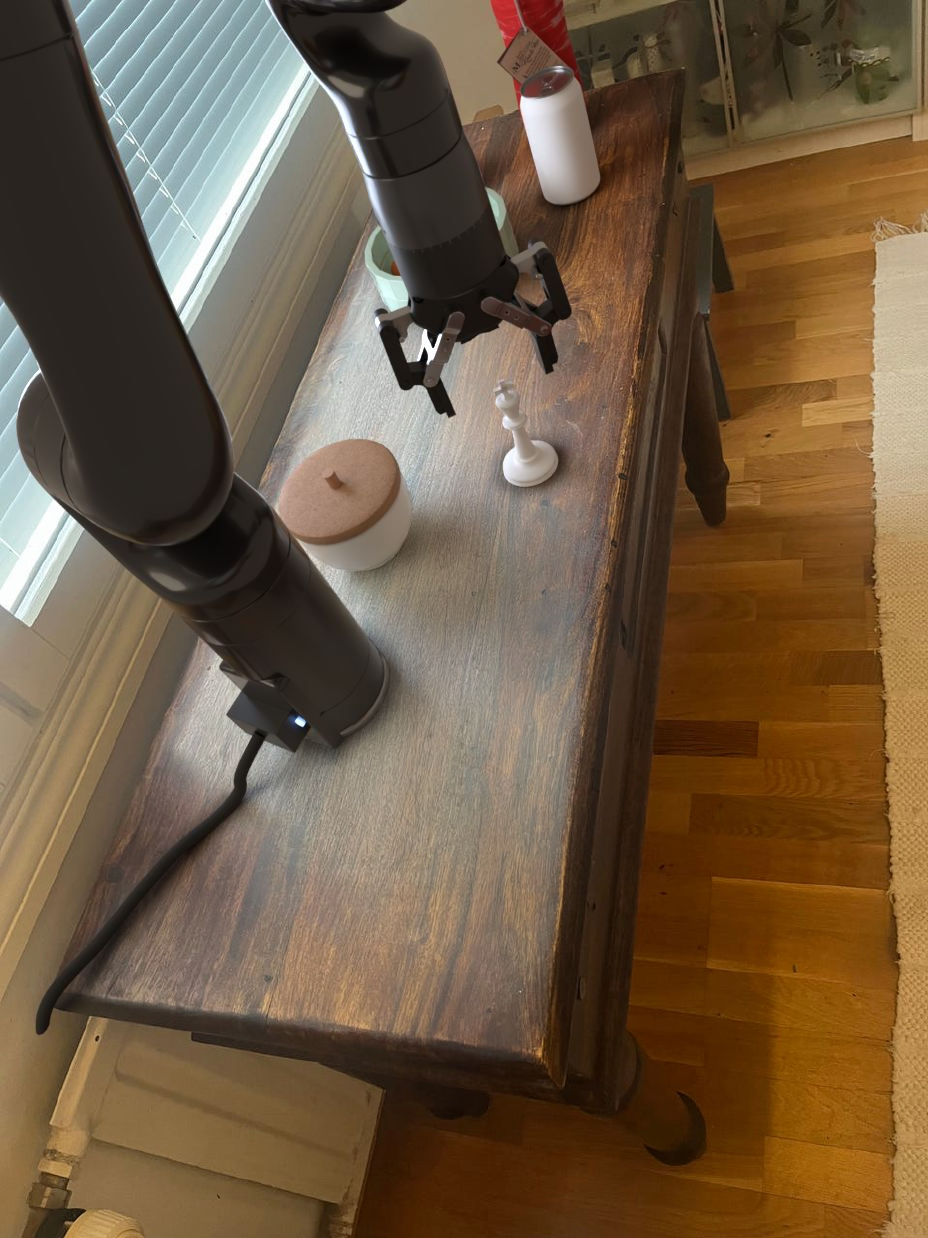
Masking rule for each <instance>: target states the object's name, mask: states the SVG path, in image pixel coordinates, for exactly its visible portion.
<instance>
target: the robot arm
mask: <svg viewBox="0 0 928 1238" xmlns="http://www.w3.org/2000/svg"><path fill="white" fill-rule="evenodd" d="M407 1H408V0H264V2H265V4H266V6H267V8H268V10H269V12H270V13H271V15H272V16H273V18H274V20H275V21H276V23H277V24H278V26H279V27H280V29H281V30H282V32H283V34H284V35H285V36H286V38H287V39H288V41H289V43H290V44H291V45H292V47H293V48H294V49H295V51H296V53H297V54H298V56H299V58H300V59H301V60H302V61H303V63H304V64H305V67H306V68H307V69H308V71H309V72H310V74H311V75H312V76H313V78H314V79H315V80H316V82H317V83H318V84H319V85H320V87H321V88H322V89H323V91H324V92H325V93H326V95H327V96H328V97H329V98H330V100H331V102H332V103H333V106H334V107H335V109H336V111H337V113H338V116H339V119H340V121H341V125H342V127H343V129H344V132H345V134H346V137H347V140H348V143H349V144H350V146H351V149H352V151H353V154H354V156H355V159H356V161H357V163H358V167H359V169H360V171H361V174H362V176H363V180H364V183H365V187H366V191H367V196H368V199H369V203H370V205H371V208H372V210H373V212H374V216H375V220H376V223H377V225H379V226H380V227H381V229H382V232H383V234H384V236H385V239H386V241H387V244H388V246H389V249H390V251H391V253H392V256H393V258H394V261H395V263H396V265H397V268H398V270H399V273H400V275H401V277H402V280H403V282H404V285H405V287H406V289H407V292H408V303H407V306H405V307H402V308H400V309H397V310H395V311H392V312H391V311H390V312H389V311H388V310H387V309H386V308H383V307H379V308H377V309H375V310H374V311H373V314H372V319H373V322H374V324H375V327H376V329H377V332H378V335H379V337H380V340H381V343H382V345H383V348H384V351H385V353H386V355H387V358H388V361H389V363H390V366H391V368H392V371H393V375H394V376H395V378H396V382H397V384H398V387H399V388H400V390H402V391H404V392H406V391H410V390H412V389H413V388H414V387H415V386H422V387H423V388H425V390H426V392H427V395H428V396H429V398H430V401H431V404H432V406H433V408H434V410H435V412H436V413H438V415H444V414H446V416H447V418H448V419H451V418H453V417H455V416H457V413H456V411H455V408H454V406H453V403H452V401H451V399H450V396H449V393H448V392H447V389H446V387H445V384H444V382H443V380H442V377H441V376H442V375H441V374H442V372H443V369H444V366H445V364H448V363H449V361H450V358H451V356H452V353H453V350H454V346H455V344H456V343H460V345H464V344H467V343H469V342H471V341H472V340H474V339H475V338H476V337H478V336H479V335H482V334H487V333H491V332H493V331H495V330H497V329H500V324H501V323H502V322H503V321H504V322H506V323H509V324H511V325H512V326H514V327H516V328H518V329H520V330H523V329H525V330H528V332H529V336H530V339H531V342H532V345H533V349H534V352H535V355H536V359H537V361H538V363H539V366H540V367H541V369H542V371H543V372H544V374H545V375H549V374H551V373H554V372H555V369H554V365H556V364H558V363H559V362H558V361H559V354H558V353H559V352H558V351H557V347H556V343H555V339H554V337H553V334H552V332H553V328H554V326H555V325H556V324H557V323H558V322H559V321H565V320H568V319H569V318H570V317H571V316H572V313H573V310H572V307H571V306H572V305H571V304H570V300H569V298H568V295H567V291H566V288H565V285H564V282H563V280H562V277H561V274H560V271H559V267H558V265H557V261H556V259H555V256H554V254H553V253H552V251H551V249H550V248H549V246H548V245H547V244H546V243H545V241H544V240H543V238H541V237H539V236H535V237H533V238H531V239H530V240H529V242H528V245H527V249H525V250H523V251H522V252H519V253H518V255H516V256H514V257H512V258H511V257H510V256H508V255H507V254H506V252H505V249H504V246H503V243H502V239H501V236H500V233H499V229H498V226H497V223H496V220H495V216H494V213H493V210H492V207H491V203H490V200H489V197H488V193H487V190H486V188H487V186H486V184H485V180H484V177H483V174H482V171H481V168H480V164H479V162H478V159H477V156H476V153H475V151H474V149H473V146H472V144H471V142H470V140H469V138H468V136H467V134H466V131H465V129H464V125H463V123H462V119H461V116H460V114H459V113H460V112H459V110H458V107H457V103H456V100H455V97H454V93H453V90H452V88H451V84H450V81H449V78H448V74H447V71H446V68H445V66H444V63H443V60H442V58H441V55H440V52H439V51H438V50H437V47H436V46H435V45H434V43H433V42H432V41H431V40H430V39H429V37H426V36H425V35H423V34H422V33H419V32H418V31H415V30H413V29H410V28H407V27H406V26H404V25H402V24H401V23H399V22H397V21H395V19H393V18H391V16H389V14H388V13H387V12H388V11H392V10H394V9H396V8H398V7H400V6H401V5H403V4H404V3H406V2H407ZM74 15H75V14H74V12H73V10H72V7H71V3H70V1H69V0H0V299H1V300H2V301H3V303H4V305H5V307H7V309H8V311H9V312H10V313H11V315H12V317H13V319H14V320H15V322H16V324H17V326H18V328H19V329H20V331H21V333H22V334H23V337H24V338H25V340H26V343H27V344H28V347H29V348H30V350H31V352H32V355H33V356H34V359H35V361H36V363H37V366H38V368H39V370H38V371H37V372H36V373H35V374H34V375H33V376H32V377H31V378H30V380H29V381H28V383H27V385H26V386H25V387H24V389H23V392H22V394H21V397H20V399H19V402H18V407H17V412H16V422H15V428H16V438H17V444H18V447H19V451H20V454H21V457H22V460H23V462H24V463H25V466H26V467H27V469H28V471H29V472H30V473H31V475H32V477H33V478H34V479H35V481H36V482H37V483H38V484H39V485H40V487H41V488H42V489H43V490H44V491H45V492H46V493H47V494H48V495H50V497H51V498H52V499H53V500H54V501H55V502H56V503H57V504H58V505H59V506H60V507H61V508H62V509H63V510H64V511H65V512H67V514H69V516H70V517H72V519H74V520H75V521H76V523H78V524H79V525H80V526H81V527H82V528H83V529H84V530H85V531H86V532H87V533H88V534H89V535H90V536H91V537H93V539H94V540H96V541H97V543H99V544H100V546H102V547H103V548H104V549H105V550H106V551H107V552H108V553H109V554H110V555H112V557H113V558H114V559H115V560H116V561H117V562H118V563H119V564H120V565H121V566H123V567H124V568H125V569H126V570H127V571H128V572H130V574H131V575H133V576H134V577H135V578H136V579H137V580H139V581H140V582H141V583H142V584H143V585H144V586H145V587H147V588H148V589H149V590H150V591H152V593H154V594H155V595H156V596H157V597H158V598H159V599H160V600H161V601H163V602H164V603H165V604H166V605H167V606H168V607H169V608H170V609H171V610H172V611H173V612H174V613H175V614H176V615H177V616H178V617H179V618H180V619H181V620H182V621H183V622H184V623H185V624H186V625H187V626H188V627H189V628H190V629H191V630H192V631H193V632H194V633H195V634H196V635H197V636H198V637H199V638H200V639H201V640H202V641H203V642H204V643H205V644H206V646H207V647H209V648H210V649H211V650H212V651H213V652H214V653H215V654H216V655H217V656H218V657H219V658H220V659H221V662H220V664H219V666H218V668H219V671H220V672H221V673H223V675H225V677H226V678H228V680H230V681H231V683H232V684H233V685H234V686H235V687H237V688H238V689H239V690H240V692H239V694H238V695H237V697H236V698H235V700H234V701H233V703H232V704H231V706H230V707H229V709H228V710H227V712H226V713H225V716H226V717H227V718H229V719H230V720H231V721H232V722H233V723H234V724H235V725H236V726H237V727H238V728H239V729H241V730H242V731H243V732H244V733H245V734H247V735H249V736H251V738H250V739H249V741H248V743H247V745H246V747H245V749H244V751H243V753H242V755H241V757H240V759H239V761H238V763H237V766H236V768H235V771H234V774H233V789H232V790H231V792H230V794H229V795H228V796H227V797H226V799H225V800H224V801H223V802H222V803H221V804H220V805H219V807H218V808H217V809H216V810H215V811H213V812H212V813H211V814H210V815H209V816H208V817H206V818H205V819H204V820H203V821H201V822H200V823H199V824H197V825H196V826H195V827H194V828H193V829H191V830H190V831H189V832H188V833H186V834H185V835H184V836H182V838H181V839H179V840H178V841H176V843H175V844H174V845H173V846H172V847H171V848H169V850H167V851H166V852H165V853H164V854H163V856H161V858H160V859H159V860H158V861H157V862H156V863H155V864H154V865H153V867H152V868H151V869H150V870H149V871H148V872H147V873H146V874H145V875H144V876H143V877H142V879H141V880H140V881H139V882H138V883H137V885H135V887H134V888H133V889H132V891H130V893H129V894H128V896H126V898H125V899H124V901H123V902H122V903H121V904H120V905H119V907H118V908H117V909H116V910H115V912H114V913H113V914H112V915H111V917H110V918H109V919H108V920H107V922H105V924H104V926H103V927H102V928H101V929H100V931H99V932H98V933H97V934H96V935H95V936H94V937H93V939H92V940H91V941H90V942H89V943H88V944H87V945H86V947H85V948H84V949H83V950H82V951H80V953H79V954H78V955H77V956H76V957H75V958H73V960H72V961H71V962H70V963H69V964H68V965H67V966H66V967H65V968H64V969H63V970H62V971H61V973H60V974H59V975H58V976H56V978H55V979H54V981H53V982H52V983H51V985H50V986H49V987H48V988H47V990H46V992H45V993H44V994H43V996H42V999H41V1001H40V1003H39V1005H38V1008H37V1011H36V1014H35V1015H36V1016H35V1034H36V1035H38V1036H41V1035H43V1034H45V1032H46V1031H47V1030H48V1029H49V1026H50V1024H51V1017H52V1014H53V1011H54V1008H55V1006H56V1003H57V1002H58V1000H59V998H60V997H61V996H62V995H63V992H64V991H65V990H66V989H67V988H68V987H69V985H70V984H71V983H72V982H73V981H74V980H75V979H76V977H78V975H79V974H80V973H81V972H83V970H84V969H85V968H86V967H87V966H88V965H89V964H90V963H91V962H92V961H93V960H94V959H95V958H96V956H98V955H99V953H101V951H102V950H103V949H104V948H105V946H107V944H108V943H109V942H110V941H111V940H112V938H113V937H114V936H115V934H116V933H117V932H118V930H120V928H121V927H122V926H123V924H124V923H125V922H126V920H127V919H128V918H129V917H130V916H131V914H132V913H133V912H134V910H136V908H137V906H138V905H139V904H140V903H141V902H142V901H143V899H144V898H145V897H146V896H147V895H148V893H149V892H150V891H151V889H153V887H154V886H155V885H156V883H158V882H159V880H160V879H161V878H162V877H163V876H164V875H165V874H166V873H167V872H168V870H170V868H171V867H172V866H173V865H175V863H176V862H177V861H178V860H179V859H180V858H181V857H182V856H183V855H184V854H185V853H186V852H187V851H189V850H190V849H191V848H192V847H193V846H194V845H196V844H197V843H198V842H200V840H202V839H203V838H205V836H207V835H208V834H209V833H210V832H212V830H214V829H215V828H216V827H217V826H219V825H220V823H222V822H223V821H224V820H225V819H226V818H227V817H228V816H230V814H231V813H232V812H234V810H236V808H237V807H238V806H239V804H241V802H242V800H243V798H244V797H245V796H246V793H247V789H248V780H247V779H248V775H249V773H250V769H251V767H252V766H253V763H254V761H255V759H256V757H257V755H258V754H259V752H260V750H261V748H262V746H263V744H264V742H267V743H269V744H271V745H273V746H276V747H278V748H281V749H284V750H286V751H288V752H290V753H293V754H296V753H297V751H298V749H300V746H301V745H302V743H303V742H304V740H306V741H312V742H314V743H317V744H319V745H322V746H325V747H327V748H330V749H332V750H335V749H337V748H338V747H339V745H340V744H341V742H342V741H343V739H344V738H345V737H347V736H349V735H352V734H354V733H355V732H356V731H359V730H360V729H362V727H364V726H365V725H366V724H367V723H369V722H370V720H371V719H372V718H373V717H374V716H375V715H376V714H377V712H378V711H379V709H380V708H381V706H382V705H383V702H384V701H385V699H386V696H387V693H388V690H389V684H390V669H389V664H388V661H387V660H386V657H385V655H384V654H383V653H382V651H381V650H380V649H379V647H378V646H377V645H376V644H374V642H373V640H372V639H371V638H370V637H369V636H368V635H367V633H366V632H365V630H364V629H363V628H362V626H361V625H360V624H359V622H358V621H357V620H356V618H355V616H353V614H352V613H351V611H350V610H349V609H348V607H347V606H346V605H345V603H344V602H343V601H342V599H341V598H340V597H339V595H338V593H336V591H335V590H334V588H333V587H332V586H331V584H330V583H329V581H327V578H326V577H325V576H324V575H323V573H322V572H321V571H320V569H319V568H318V567H317V566H316V564H315V562H313V560H312V558H311V557H310V556H309V554H308V552H307V551H306V550H305V549H304V548H303V547H302V546H301V544H300V543H299V542H298V541H297V539H296V538H295V537H294V535H293V534H292V533H291V531H290V530H289V529H288V527H287V526H286V525H285V523H284V522H283V521H282V519H281V518H280V516H279V513H277V511H276V510H275V508H274V507H273V506H272V505H271V503H270V502H269V500H268V499H266V497H265V496H264V495H262V494H261V493H260V492H259V491H258V490H257V489H255V488H254V487H253V486H252V485H251V484H250V483H249V482H247V481H246V480H245V479H244V478H242V476H241V475H239V474H238V473H237V472H236V471H235V450H234V444H233V443H234V442H233V438H232V433H231V430H230V426H229V424H228V421H227V418H226V415H225V412H224V411H223V407H222V405H221V404H220V401H219V399H218V397H217V395H216V392H215V390H214V388H213V386H212V384H211V382H210V380H209V378H208V376H207V373H206V372H205V369H204V367H203V365H202V363H201V361H200V358H199V356H198V354H197V352H196V350H195V347H194V346H193V344H192V341H191V339H190V337H189V335H188V333H187V331H186V328H185V327H184V324H183V322H182V320H181V318H180V316H179V313H178V311H177V309H176V306H175V304H174V301H173V300H172V297H171V295H170V293H169V291H168V288H167V286H166V283H165V280H164V279H163V275H162V273H161V271H160V267H159V265H158V263H157V261H156V258H155V254H154V251H153V249H152V246H151V244H150V240H149V237H148V235H147V234H148V233H147V232H146V229H145V225H144V223H143V219H142V216H141V213H140V210H139V206H138V204H137V201H136V198H135V194H134V192H133V189H132V186H131V183H130V180H129V177H128V174H127V171H126V168H125V165H124V162H123V160H122V158H121V154H120V152H119V149H118V146H117V143H116V140H115V138H114V135H113V133H112V129H111V126H110V124H109V120H108V117H107V115H106V112H105V109H104V107H103V103H102V100H101V97H100V94H99V91H98V88H97V85H96V81H95V79H94V75H93V72H92V69H91V65H90V63H89V60H88V55H87V52H86V49H85V46H84V43H83V39H82V35H81V32H80V30H79V28H78V24H77V22H76V18H75V16H74ZM521 274H527V275H528V276H529V278H530V279H532V280H533V281H537V280H538V281H539V283H540V285H541V288H542V292H543V295H544V297H545V300H544V301H543V302H542V303H541V304H539V305H537V304H535V303H533V302H531V301H529V300H528V299H526V298H524V297H523V296H521V294H519V292H517V291H516V289H517V286H518V283H519V280H520V275H521ZM413 323H414V324H415V325H416V326H418V327H419V328H421V329H423V333H422V336H421V347H420V350H419V353H418V356H417V359H416V360H415V361H409V362H408V360H407V357H406V354H405V352H404V349H403V346H402V344H403V343H405V342H406V340H407V338H408V336H409V335H408V333H409V331H408V329H409V327H410V325H411V324H413Z"/></svg>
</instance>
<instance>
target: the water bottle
mask: <svg viewBox="0 0 928 1238" xmlns="http://www.w3.org/2000/svg"><path fill="white" fill-rule="evenodd" d="M489 3H490V5H491V9H492V12H493V16H494V17H495V19H496V24H497V26H498V29H499V31H500V34H501V37H502V40H503V43H504V47H505V49H504V51H503V52H502V54H501V55H500V57H499V58H498V59H497V60H496V63H497V64H498V65H499V66H500V67H501V68H502V69H503V70H504V71H505V72H506V73H508V74H509V75H510V76H511V77H512V81H513V87H514V92H515V97H516V103H517V107H518V112H519V114H520V117H521V121H522V124H523V128H524V129H525V125H524V122H523V118H522V114H521V109H520V101H521V94H520V87H521V85H522V83H523V82H524V81H525V80H526V79H527V78H528V77H529V76H531V75H532V74H534V73H536V72H537V71H540V70H542V69H545V68H548V67H552V66H567V67H570V68H571V69H572V70H573V72H574V77H575V78H576V79H577V81H578V82H579V84H580V86H581V89H582V93H583V98H584V102H585V107H586V110H587V109H588V108H587V102H586V97H585V92H584V87H583V82H582V77H581V74H580V70H579V66H578V62H577V59H576V56H575V55H576V54H575V52H574V49H573V45H572V41H571V38H570V34H569V29H568V25H567V20H566V14H565V7H564V0H489Z"/></svg>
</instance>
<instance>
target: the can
mask: <svg viewBox="0 0 928 1238" xmlns="http://www.w3.org/2000/svg"><path fill="white" fill-rule="evenodd" d="M520 94H521V101H520V109H521V114H522V118H523V121H522V123H523V122H524V125H525V128H524V130H525V132H526V133H525V134H526V136H527V140H528V143H529V147H530V151H531V154H532V155H531V156H532V159H533V162H534V166H535V169H536V170H535V171H536V173H537V177H538V180H539V184H540V187H541V191H542V194H543V197H544V199H545V200H546V201H547V202H549V203H550V204H552V205H554V206H562V207H563V206H571V205H575V204H577V203H580V202H582V201H584V200H586V199H587V198H590V197H591V196H592V195H593V194H594V192H595V191H596V190H597V189H598V186H599V185H600V182H601V173H600V168H599V164H598V163H599V162H598V159H597V154H596V149H595V145H594V140H593V135H592V131H591V126H590V121H589V116H588V111H587V109H586V107H587V106H586V107H585V102H586V101H585V102H584V98H583V93H582V89H581V86H580V84H579V82H578V81H577V79H576V78H575V77H574V72H573V70H572V69H571V68H570V67H567V66H552V67H548V68H545V69H542V70H540V71H537V72H536V73H534V74H532V75H531V76H529V77H528V78H527V79H526V80H525V81H524V82H523V83H522V85H521V87H520ZM521 114H520V115H521ZM522 118H521V119H522ZM524 125H523V126H524Z"/></svg>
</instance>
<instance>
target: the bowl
mask: <svg viewBox="0 0 928 1238" xmlns="http://www.w3.org/2000/svg"><path fill="white" fill-rule="evenodd" d="M486 190H487V193H488V197H489V200H490V203H491V207H492V210H493V213H494V216H495V220H496V223H497V226H498V229H499V233H500V236H501V239H502V243H503V246H504V249H505V252H506V254H507V255H508V256H510V257H511V258H512V257H514V256H516V255H518V254H519V253H520V250H519V249H520V248H519V246H518V243H517V239H516V236H515V232H514V229H513V227H512V223H511V220H510V216H509V213H508V210H507V207H506V206H507V205H506V203H505V199H504V198H503V197H502V196H501V195H500V194H499V193H497V192H496V191H495V190H494V189H493V188H490V187H486ZM364 260H365V265H366V266H365V267H366V269H367V270H368V272H369V274H370V277H371V278H372V281H373V283H374V286H375V287H376V289H377V291H378V294H379V295H380V298H381V300H382V302H383V303H384V305H385V306H386V307H387V308H388V310H389V311H390V312H392V311H395V310H397V309H400V308H402V307H405V306H407V303H408V292H407V289H406V287H405V285H404V282H403V280H402V277H401V276H393V275H392V272H391V266H392V263H393V261H394V258H393V256H392V253H391V251H390V249H389V246H388V244H387V241H386V239H385V236H384V234H383V232H382V229H381V227H380V226H379V224H377V226H376V228H375V229H374V230H373V232H372V233H371V234H370V235H369V238H368V241H367V243H366V246H365V249H364Z"/></svg>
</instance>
